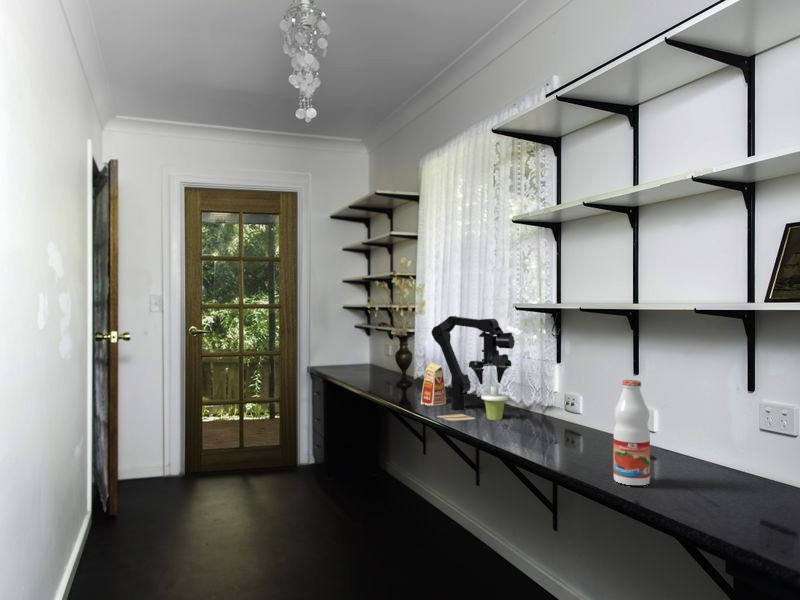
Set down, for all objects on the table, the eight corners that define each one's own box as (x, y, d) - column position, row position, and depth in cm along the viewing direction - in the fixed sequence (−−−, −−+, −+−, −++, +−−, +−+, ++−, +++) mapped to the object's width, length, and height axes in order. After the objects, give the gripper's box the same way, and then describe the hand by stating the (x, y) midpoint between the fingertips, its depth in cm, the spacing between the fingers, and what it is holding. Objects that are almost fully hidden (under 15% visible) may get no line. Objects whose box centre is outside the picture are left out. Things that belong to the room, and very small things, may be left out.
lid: (476, 397, 264) (476, 385, 264) (498, 395, 269) (498, 383, 268) (490, 401, 254) (490, 388, 254) (513, 399, 258) (513, 387, 258)
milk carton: (420, 404, 299) (420, 361, 299) (434, 401, 306) (434, 360, 305) (434, 406, 293) (434, 363, 292) (448, 404, 299) (447, 361, 299)
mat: (436, 417, 266) (436, 416, 266) (461, 414, 272) (461, 413, 272) (451, 422, 256) (451, 421, 256) (476, 419, 261) (476, 418, 261)
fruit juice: (650, 479, 177) (650, 379, 176) (649, 489, 168) (649, 384, 168) (614, 476, 180) (614, 378, 180) (612, 485, 172) (612, 382, 172)
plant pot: (507, 422, 257) (507, 400, 256) (484, 422, 257) (484, 400, 257) (504, 417, 266) (504, 396, 266) (482, 417, 266) (482, 396, 266)
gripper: (482, 350, 263) (482, 387, 263) (519, 348, 271) (519, 384, 271) (468, 348, 273) (468, 384, 273) (503, 346, 281) (503, 381, 281)
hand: (490, 383), depth 275 cm, fingers open, 9 cm apart
